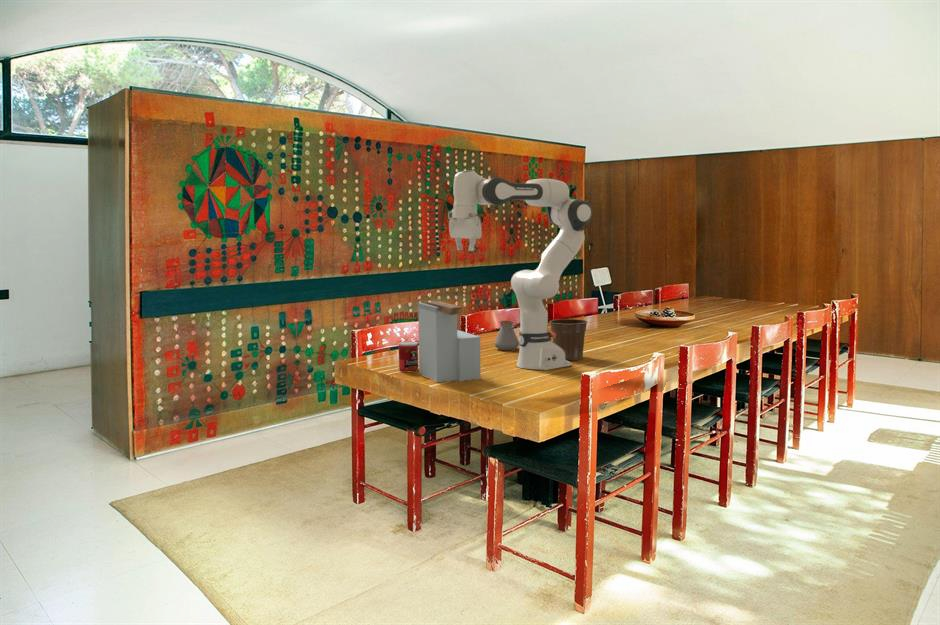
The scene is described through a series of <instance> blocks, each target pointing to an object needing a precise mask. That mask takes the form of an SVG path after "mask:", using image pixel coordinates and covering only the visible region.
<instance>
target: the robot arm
mask: <svg viewBox="0 0 940 625" xmlns="http://www.w3.org/2000/svg"><path fill="white" fill-rule="evenodd" d="M452 190H453V194H452V195H453V197H454V201H453V208H452V209H451V211H449V212H448V216H447V217H448V219H449V221H448V228H449V229H448V230H449V236H450V238H451V239H455V240H454V241H455V243H456V244H455V245H456V251H463V250H464V249H463V248H464V247H463V246H464V245H463V244H462V240H463V239H468V240H469V245H468V247H467V248H468V249H467V250H468V251H469V252H474V251H475V246H476V243H477V240H478V239H479V240H480V239H482V236H483V235H482V222H481V219H480V216H478V205H480V206H492V205H493V206H502V205H504V204H506V203H509V202H510V201H524V202H525V203H526V204H527V205H529V206H532V207H533V206H534V207H541V208H543V207H544V208H546V216H547V220H548V221H549V223H551V224H552V225H553V226H556V227H560V229H559V232H558V234H557V235H556V236H555V237H554V239H553V240H552V241H551V242H550V243H549V244H548V245H547V246H546V248H545V249H544V251H543V252H542V253H541V254H540V259H541V260H540V262H539V265H538V266H537V267H536V269H534V270H533V269H532V270H531V269H523V270H522V269H521V270H519V271H516V272H515V273H514V274H513V275H512V276H511V279H510V286H511V288H512V290H513V292H514V294H515V296H516V300H517V304H518V308H519V314H520V315H519V319H520V321H519V323H520V326H519V327H520V331H519V333H518V334H519V335H518V337H519V338H518V341H519V350H518V357H517V362H516V365H515V366H517V368H520V369H527V370H541V371H542V370H543V371H548V370H549V371H550V370H553V369H559V368H564V367H569V366H572V363H571V362H570V360H567V359H565V353H564V351H563V349H562V348H560V347H559V346H558V345H557V344H555V343H554V342H553V338H555V337H556V333H552V332H550V331H548V330H549V329H548V327H549V326H548V325H549V324H548V322H549V321H548V320H549V318H548V317H549V315H548V314H549V313H548V310H547V309H546V308H545V305H544V303H543V300H547V299H551V298H553V297H555V296H556V295H557V293H558V292H559V289H560V288H559V287H560V282H559V281H560V279H561V276H562V274H563V272H564V270H565V269H566V268H567V267H568V265H569V264H570V263H571V262H572V261H573V259H574V257H576V255H577V254H578V253H579V251H580V249H581V247H582V246H583V244H584V242H585V238H586V237H585V236H586V235H585V233H584V230H586V228H588V226H589V225H588V224H590V221H591V220H592V216H593V208H592V206H591V204H590V203H589V202H588V201H585V200H583V199H580V198H579V199H575V198H574V199H572V198H571V197H570V188H569V186H568V184H567V183H566V182H564V181H561V180H558V179H553V178H535V179H529V180H527V181H526V182H525V183H523V182H522V183H521V182H510V181H508V180H507V179H505V178H503V177H498V176H497V177H493V178H485V177H483V176H481V175H480V174H478V173H477V172H476V171H475V170H474V169H469V170H468V169H467V170H461V171H458V172H456V174H455V175H454V178H453V189H452Z"/></svg>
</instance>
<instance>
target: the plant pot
mask: <svg viewBox="0 0 940 625" xmlns="http://www.w3.org/2000/svg"><path fill="white" fill-rule="evenodd" d="M548 322H549V324H550V330H551V333H556V337H555V338H553V337H552V341H553V342H554V343H555V344H557V345H558V346H559V347H560V348H562V349H563V351H564V353H565V360H567V361H578V360H581V359H583V356H584V345H585V336H586V335H585V334H586V331H587V324H588V320H586V319H585V320H584V319H581V318H579V319H578V318H561V319H552V320H550V321H548Z"/></svg>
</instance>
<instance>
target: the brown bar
mask: <svg viewBox="0 0 940 625" xmlns="http://www.w3.org/2000/svg"><path fill="white" fill-rule="evenodd" d="M426 304H428V305H431V306H435V307H439V312H442V313H446V314H449V315H456V314H457V315H463V306H459V305H456V304H452V303H448V302H447V303H446V302H444V301H439V300H437V301H436V300H434V301H433V300H431V301H426Z"/></svg>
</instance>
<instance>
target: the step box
mask: <svg viewBox="0 0 940 625" xmlns="http://www.w3.org/2000/svg"><path fill="white" fill-rule="evenodd" d="M417 304H418V305H417V308H418V309H417V310H418V313H417V314H418V371H419V375H421V374H422V375H421V376H423V375H424V376H423V377H425V376H426V377H425V378H427V377H428V378H427V379H429V378H430V379H429V380H431V379H432V380H431V381H433V380H434V381H433V382H435V381H436V382H435V383H437V382H438V383H442V382H441V381H447V382H452V381H451V380H455V381H458V380H459V381H458V382H465V380H467V381H473V380H472V379H475V380H481V378H482V377H481V376H482V375H481V372H482V371H481V368H482V366H481V336H479V335H476V334H474V333H473V334H472V333H469V332H466V331H463V330H459V329H458V314H456V315H449V314H446V313H442V312H439V307H435V306H431V305H428V304H427V303H422V302H418V303H417Z"/></svg>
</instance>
